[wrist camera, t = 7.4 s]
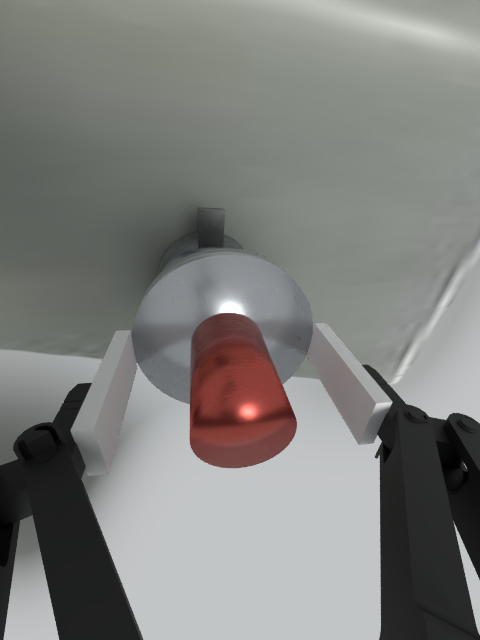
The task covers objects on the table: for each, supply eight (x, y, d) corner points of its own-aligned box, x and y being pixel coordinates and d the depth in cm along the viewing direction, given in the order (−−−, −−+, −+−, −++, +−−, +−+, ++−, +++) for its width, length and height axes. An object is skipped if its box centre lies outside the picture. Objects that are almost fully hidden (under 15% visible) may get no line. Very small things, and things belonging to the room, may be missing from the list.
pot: (151, 196, 34) (140, 208, 26) (259, 202, 36) (277, 214, 28) (164, 339, 45) (159, 377, 37) (246, 336, 47) (257, 371, 40)
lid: (127, 242, 14) (66, 315, 7) (322, 253, 16) (418, 319, 9) (143, 395, 19) (117, 520, 13) (287, 389, 21) (332, 494, 15)
